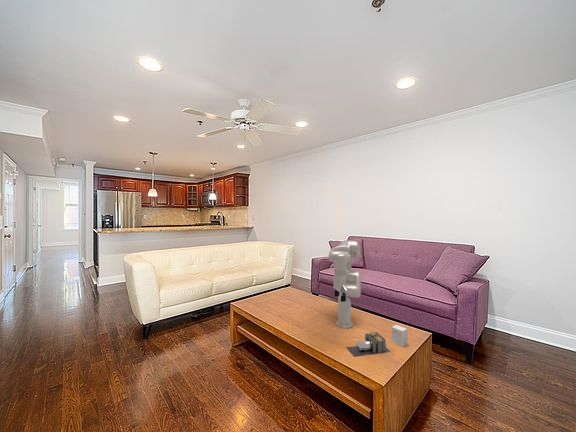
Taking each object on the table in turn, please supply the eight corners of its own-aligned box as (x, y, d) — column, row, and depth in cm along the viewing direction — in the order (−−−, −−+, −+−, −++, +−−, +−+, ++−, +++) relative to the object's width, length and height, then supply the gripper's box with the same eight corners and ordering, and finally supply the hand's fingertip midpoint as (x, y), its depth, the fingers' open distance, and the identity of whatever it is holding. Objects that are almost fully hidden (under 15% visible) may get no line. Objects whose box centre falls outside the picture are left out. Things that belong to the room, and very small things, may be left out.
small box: (407, 344, 168) (407, 328, 168) (402, 347, 165) (402, 331, 164) (396, 339, 174) (396, 324, 174) (391, 342, 171) (391, 326, 171)
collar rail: (345, 348, 164) (345, 334, 164) (380, 343, 169) (381, 330, 169) (354, 358, 153) (354, 343, 153) (391, 352, 159) (391, 338, 158)
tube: (360, 351, 157) (359, 342, 159) (356, 350, 162) (355, 341, 163) (386, 347, 161) (385, 339, 163) (382, 346, 166) (380, 337, 167)
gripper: (329, 269, 174) (329, 295, 175) (340, 276, 157) (340, 304, 158) (339, 269, 176) (339, 294, 176) (351, 275, 159) (351, 303, 159)
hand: (340, 298), depth 167 cm, fingers open, 9 cm apart
